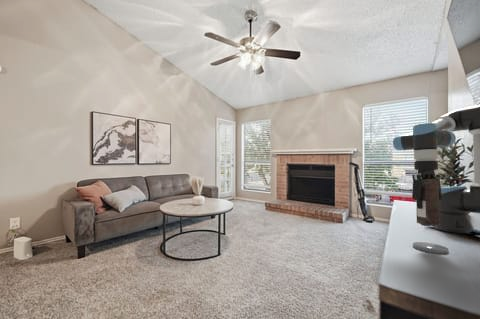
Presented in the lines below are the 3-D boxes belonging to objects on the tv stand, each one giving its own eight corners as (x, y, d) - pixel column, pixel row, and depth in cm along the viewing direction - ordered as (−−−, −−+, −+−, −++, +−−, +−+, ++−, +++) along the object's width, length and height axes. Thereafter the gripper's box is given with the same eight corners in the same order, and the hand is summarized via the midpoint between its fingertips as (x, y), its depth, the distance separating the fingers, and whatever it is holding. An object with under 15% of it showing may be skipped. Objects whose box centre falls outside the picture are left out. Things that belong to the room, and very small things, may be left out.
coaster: (423, 243, 96) (423, 240, 96) (455, 251, 86) (455, 249, 86) (406, 246, 93) (406, 243, 93) (437, 255, 82) (437, 253, 82)
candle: (445, 228, 85) (443, 177, 86) (424, 228, 87) (421, 177, 88) (432, 224, 93) (430, 176, 94) (413, 223, 94) (410, 176, 95)
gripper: (430, 161, 98) (433, 212, 97) (399, 160, 91) (401, 216, 90) (451, 160, 91) (454, 216, 90) (419, 159, 84) (422, 219, 83)
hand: (428, 216), depth 90 cm, fingers closed on candle, 7 cm apart
